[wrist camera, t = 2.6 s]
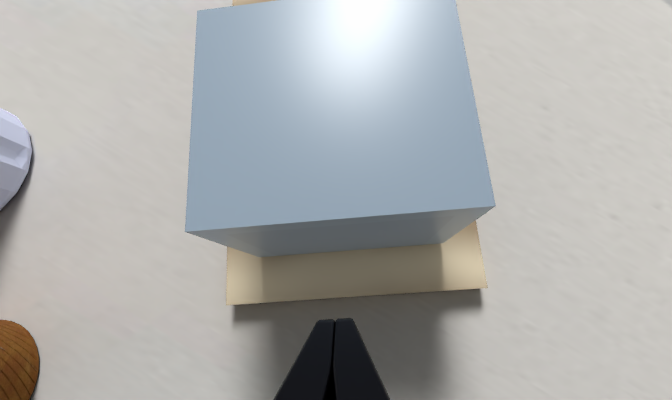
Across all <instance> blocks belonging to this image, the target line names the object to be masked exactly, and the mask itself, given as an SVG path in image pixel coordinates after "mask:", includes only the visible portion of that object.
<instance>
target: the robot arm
mask: <svg viewBox="0 0 672 400" xmlns="http://www.w3.org/2000/svg"><path fill="white" fill-rule="evenodd" d="M274 400H390V398H389V396H388V394H387V392H386V389H385V387H384V385H383V383H382V381H381V379H380V376H379V374H378V372H377V370H376V368H375V366H374V364H373V361H372V359H371V357H370V355H369V353H368V351H367V349H366V346H365V344H364V342H363V340H362V338H361V336H360V333H359V331H358V329H357V327H356V325H355V323H354V321H353V319H351V318H344V319H337V320H336V321H335V320H333V319H328V320H319V321H318V322H317V323H316V325H315V326H314V328H313V330H312V332H311V334H310V335H309V337H308V339H307V341H306V342H305V344H304V346H303V348H302V350H301V351H300V353H299V355H298V357H297V359H296V360H295V362H294V364H293V366H292V367H291V369H290V371H289V373H288V375H287V376H286V378H285V380H284V382H283V383H282V385H281V387H280V389H279V391H278V392H277V394H276V396H275V398H274Z"/></svg>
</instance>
